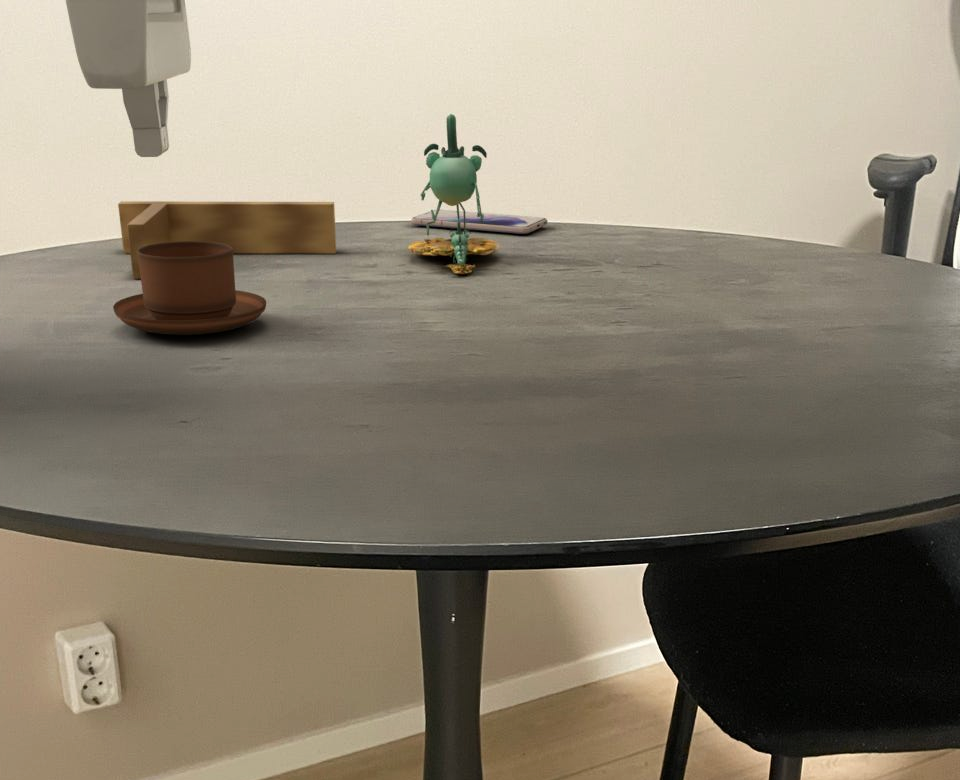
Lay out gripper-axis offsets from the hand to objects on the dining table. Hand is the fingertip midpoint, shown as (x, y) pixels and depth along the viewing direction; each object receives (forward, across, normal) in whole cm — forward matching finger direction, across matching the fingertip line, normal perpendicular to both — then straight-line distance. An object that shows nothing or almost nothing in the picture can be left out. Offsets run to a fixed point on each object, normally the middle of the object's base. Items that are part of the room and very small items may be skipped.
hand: (153, 154), depth 85 cm
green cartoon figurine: (+15, -41, +22) cm, 49 cm away
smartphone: (+15, -62, +26) cm, 69 cm away
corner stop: (+14, -38, -1) cm, 41 cm away
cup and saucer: (+14, -11, 0) cm, 18 cm away
